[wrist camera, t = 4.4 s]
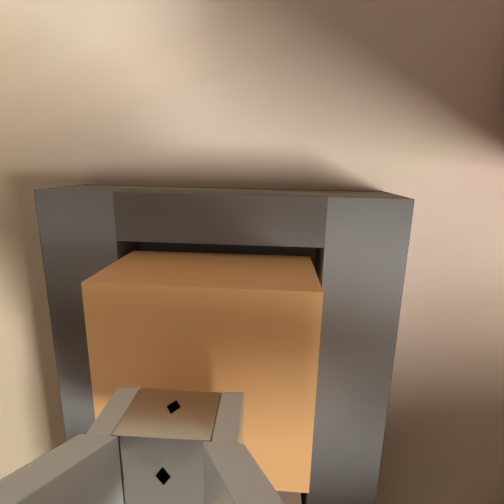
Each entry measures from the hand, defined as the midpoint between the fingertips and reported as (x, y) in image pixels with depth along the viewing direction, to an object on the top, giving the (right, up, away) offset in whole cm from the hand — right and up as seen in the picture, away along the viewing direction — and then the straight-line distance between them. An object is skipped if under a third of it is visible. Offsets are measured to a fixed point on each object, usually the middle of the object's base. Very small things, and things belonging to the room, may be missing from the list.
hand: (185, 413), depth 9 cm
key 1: (0, +1, +4) cm, 4 cm away
